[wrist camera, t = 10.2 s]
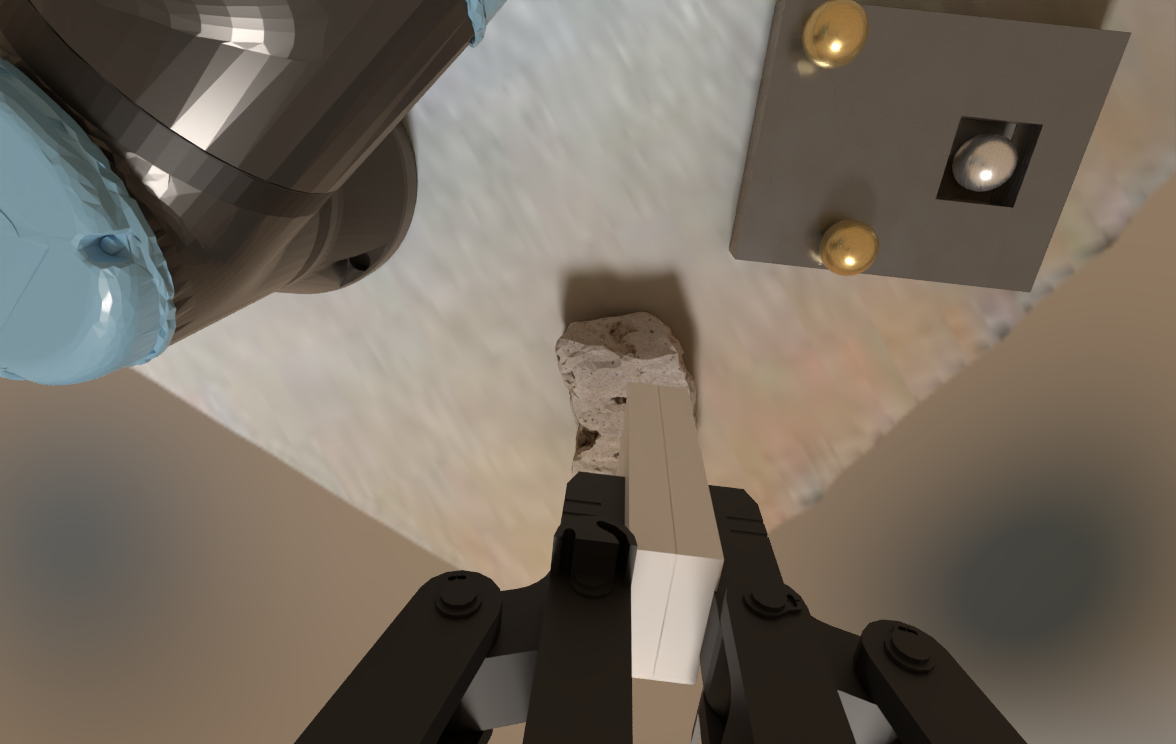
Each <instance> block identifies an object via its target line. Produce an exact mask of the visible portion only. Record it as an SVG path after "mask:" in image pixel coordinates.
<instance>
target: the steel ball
mask: <svg viewBox="0 0 1176 744" xmlns="http://www.w3.org/2000/svg"><path fill="white" fill-rule="evenodd" d="M1017 161H1018V154H1017V150H1016V148H1015V146H1014V144H1013V143H1012V142H1011V141H1010V140H1009V139H1008V138H1006V137H1004V136H1002V135H999V134H994V133H988V134H982V135H978V136H975V137H973V138H971V139H970V140H968V141H967V142H965V143H964V144H963V145H962V146H961V147H960V148H959V150H958V151H957V153H956V154H955V157H954V159H953V164H952V171H953V175H954V178H955V179H956V181H957V182H958V183H959V184H960V185H961V186H962V187H964V188H965V189H968V190H971V191H977V192H983V191H988V190H992V189H994V188H997V187H999V186H1000V185H1002V184H1003V183H1005V182H1006V181H1007V180H1008V179H1009V178H1010V177H1011V175H1012V174H1013V172H1014V170H1015V168H1016V165H1017Z"/></svg>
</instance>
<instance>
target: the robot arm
mask: <svg viewBox="0 0 1176 744" xmlns="http://www.w3.org/2000/svg"><path fill="white" fill-rule="evenodd" d="M506 1H507V0H0V377H3V378H8V379H12V380H25V379H27V380H29V381H32V382H35V383H40V384H44V385H67V384H76V383H81V382H86V381H89V380H92V379H96V378H99V377H102V376H104V375H106V374H109V373H111V372H114V371H116V370H118V369H122V368H124V367H131V366H135V365H142V364H145V363H148V362H149V361H150V360H151V359H152V358H155V357H157V356H159V355H160V354H162V353H163V352H164V351H165V350H166V348H167V347H168V346H170V345H172V344H174V343H176V342H178V341H180V340H182V339H184V338H186V337H188V336H190V335H192V334H194V333H196V332H197V331H199V330H201V329H203V328H205V327H207V326H209V325H211V324H213V323H215V322H217V321H219V320H221V319H223V318H225V317H227V316H229V315H231V314H232V313H234V312H236V311H238V310H240V309H242V308H244V307H246V306H248V305H250V304H252V303H254V302H256V301H258V300H260V299H262V298H264V297H266V296H267V295H269V294H271V293H273V292H281V293H295V294H317V293H325V292H329V291H334V290H338V289H341V288H344V287H347V286H349V285H351V284H353V283H355V282H357V281H359V280H361V279H362V278H364V277H366V276H367V275H369V274H371V273H372V272H374V271H375V270H377V269H378V268H379V267H381V266H382V265H383V264H384V263H385V262H386V261H388V260H389V258H390V257H391V256H392V255H393V254H394V253H395V251H396V250H397V249H398V247H399V246H400V244H401V243H402V241H403V239H404V238H405V236H406V234H407V231H408V229H409V227H410V224H411V221H412V218H413V214H414V209H415V204H416V195H417V175H416V167H415V161H414V156H413V152H412V148H411V145H410V142H409V139H408V136H407V134H406V131H405V129H404V126H403V124H402V122H401V119H402V118H403V117H404V116H405V115H406V114H407V113H408V112H409V111H410V109H411V108H412V107H413V106H414V105H415V104H416V103H417V102H418V101H419V99H420V98H421V97H422V96H423V95H424V94H425V93H426V92H427V91H428V89H429V88H430V87H431V86H432V85H433V84H434V83H435V82H436V81H437V79H438V78H439V77H440V76H441V75H442V74H443V73H444V72H445V71H446V69H447V68H448V67H449V66H450V65H451V64H452V63H453V62H454V61H455V59H456V58H457V57H458V56H459V55H460V54H461V53H462V52H463V51H464V49H465V48H466V47H467V46H468V45H470V46H471V47H473V48H474V47H476V46H477V45H478V44H479V43H480V42H481V41H482V39H483V37H484V34H485V30H486V25H487V24H488V23H489V22H490V20H491V19H492V18H493V17H494V16H495V14H496V13H497V12H498V11H499V9H500V8H501V7H502V6H503V5H504V3H505V2H506ZM700 665H701V673H702V680H703V690H702V693H701V698H700V702H699V706H698V710H697V715H696V719H695V723H694V727H693V731H692V738H691V744H698V741H699V736H700V733H701V741H702V744H1027V743H1026V742H1025V740H1024V739H1023V738H1022V737H1021V736H1020V735H1019V734H1018V732H1017V731H1016V730H1015V729H1014V728H1013V727H1012V725H1011V724H1010V723H1009V722H1008V721H1007V720H1006V718H1005V717H1004V716H1003V715H1002V714H1001V713H1000V711H999V710H998V709H997V708H996V707H995V706H994V704H993V703H992V702H991V701H990V700H989V699H988V698H987V696H986V695H985V694H984V693H983V692H982V691H981V689H980V688H979V687H978V686H977V685H976V684H975V682H974V681H973V680H972V679H971V678H970V677H969V676H968V675H967V674H966V672H965V671H964V670H963V669H962V668H961V666H960V665H959V664H958V663H957V662H956V660H955V659H954V658H953V657H952V656H951V655H950V654H949V653H948V651H947V650H946V649H945V648H943V646H941V645H940V644H939V643H938V642H937V641H936V640H935V639H934V638H933V637H931V636H929V635H928V634H926V633H924V632H922V631H921V630H919V629H917V628H916V627H913V626H911V625H907V624H905V623H902V622H899V621H891V620H879V621H875V622H872V623H869V624H868V625H867V627H866V628H865V629H864V630H863V631H862V634H861V636H858V635H855V634H852V633H850V632H847V631H844V630H841V629H839V628H836V627H833V626H830V625H828V624H826V623H824V622H821V621H819V620H817V619H816V618H814V617H812V616H811V615H810V612H809V610H808V608H807V606H806V605H805V603H804V601H803V599H802V598H801V596H800V595H798V594H797V593H796V592H795V591H794V590H793V589H791V588H790V587H789V586H788V585H785V584H784V583H783V579H782V576H781V573H780V570H779V567H778V564H777V562H776V558H775V555H774V552H773V549H772V546H771V543H770V540H769V538H768V537H767V531H766V528H765V525H764V524H763V519H762V516H761V513H760V510H759V507H758V504H757V503H756V502H755V501H754V500H753V499H752V498H751V497H750V496H749V495H748V494H747V493H746V491H745V490H744V489H738V488H729V487H721V486H712V485H708V482H707V477H706V473H705V468H704V463H703V459H702V454H701V449H700V445H699V440H698V435H697V431H696V426H695V421H694V417H693V412H692V407H691V403H690V398H689V393H688V389H685V388H677V387H668V386H659V385H651V384H642V383H633V382H629V386H628V393H627V400H626V407H625V415H624V422H623V429H622V436H621V444H620V451H619V458H618V465H617V473H616V476H614V475H606V474H597V473H589V472H580V471H579V472H578V473H577V474H576V475H575V476H574V477H573V478H572V479H571V480H570V481H569V482H568V483H567V488H566V494H565V501H564V506H563V513H562V518H561V524H560V526H559V527H558V529H557V531H556V533H555V535H554V540H553V551H552V561H551V570H550V572H549V573H548V574H547V575H546V576H545V577H544V578H542V579H541V580H540V581H538V582H537V583H534V584H532V585H530V586H527V587H523V588H519V589H513V590H506V591H500V588H499V587H498V586H497V585H496V584H495V583H494V582H493V580H492V579H490V578H488V577H486V576H484V575H482V574H480V573H477V572H471V571H464V570H461V571H452V572H446V573H443V574H441V575H439V576H436V577H433V578H431V579H430V580H429V581H428V582H426V583H425V584H424V585H423V586H422V587H421V588H420V589H419V590H418V591H417V592H416V594H415V595H414V596H413V597H412V599H411V600H410V601H409V602H408V604H407V605H406V606H405V607H404V608H403V610H402V611H401V612H400V613H399V615H398V616H397V617H396V618H395V619H394V621H393V622H392V623H391V624H390V626H389V627H388V628H387V630H386V631H385V632H384V633H383V634H382V635H381V637H380V638H379V639H378V640H377V642H376V643H375V644H374V646H373V647H372V648H371V649H370V650H369V652H368V653H367V654H366V655H365V656H364V658H363V659H362V660H361V661H360V663H359V664H358V665H357V666H356V668H355V669H354V670H353V671H352V673H351V674H350V675H349V676H348V677H347V679H346V680H345V681H344V682H343V684H342V685H341V686H340V687H339V689H338V690H337V691H336V692H335V694H334V695H333V696H332V697H331V699H330V700H329V701H328V702H327V703H326V705H325V706H324V707H323V708H322V710H321V711H320V712H319V713H318V714H317V716H316V717H315V718H314V719H313V721H312V722H311V723H310V724H309V725H308V727H307V728H306V729H305V731H304V732H303V733H302V734H301V735H300V737H299V738H298V739H297V740H296V742H295V743H294V744H487V743H488V741H489V739H490V737H491V735H492V732H493V728H498V727H503V726H508V725H513V724H518V723H523V722H526V726H525V732H524V738H523V744H633V736H632V677H635V678H643V679H650V680H659V681H667V682H675V683H683V684H692V685H695V683H696V679H697V675H698V671H699V666H700Z"/></svg>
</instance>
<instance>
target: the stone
mask: <svg viewBox="0 0 1176 744" xmlns="http://www.w3.org/2000/svg"><path fill="white" fill-rule="evenodd" d="M683 354H684V351H683V349H682V347H681V345H680V342H679V341H678V340H677V339H676V338H675V337H674V336H673V335H672V334H671V328H669V327H668V326H666V325H665V324H664V323H663V322H661V321H660V319H659V318H658V317H656V316H654V315H652V314H650V313H647V312H635V313H630V314H626V315H622V316H615V317H605V318H600V319H595V320H590V321H583V322H579V321H578V322H572V323H571V324H570V325H569V326H568V328H567V330H566V332H565V333H564V334H563V335H562V336H561V337H560V338H559V340H558V341H557V343H556V355H557V357H558V366H559V369H560V372H561V375H562V377H563V380H564V383H565V385H566V387H567V388H568V389H569V393H570V395H571V397H570V403H571V407H572V410H573V412H574V413H575V415H576V417H577V419H578V421H579V427H578V431H577V436H576V452H575V455H574V458H573V463H572V464H573V465H572V474H573V477H574V476H575V475H576V474H577V473H578V472H579V471H580V472H589V473H597V474H606V475H614V476H616V473H617V465H618V458H619V451H620V444H621V436H622V429H623V422H624V415H625V407H626V400H627V393H628V386H629V382H633V383H642V384H651V385H659V386H668V387H677V388H685V389H688V393H689V398H690V403H691V407H692V412H693V417H694V421H695V425H696V422H697V421H696V405H695V402H696V396H697V390H696V384H695V379H694V378H693V377H692V376H691V374H690V373H689V372H688V370H687V369H686V367H685V365H684V362H683V359H682V355H683Z"/></svg>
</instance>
